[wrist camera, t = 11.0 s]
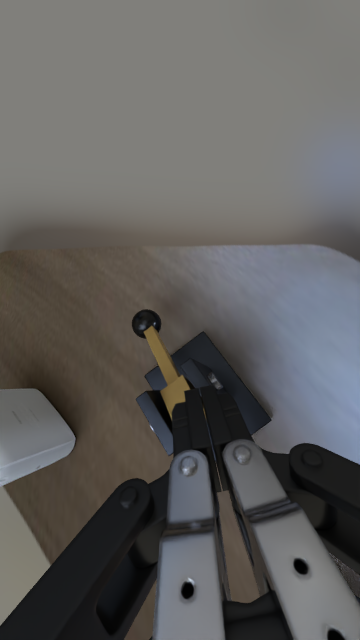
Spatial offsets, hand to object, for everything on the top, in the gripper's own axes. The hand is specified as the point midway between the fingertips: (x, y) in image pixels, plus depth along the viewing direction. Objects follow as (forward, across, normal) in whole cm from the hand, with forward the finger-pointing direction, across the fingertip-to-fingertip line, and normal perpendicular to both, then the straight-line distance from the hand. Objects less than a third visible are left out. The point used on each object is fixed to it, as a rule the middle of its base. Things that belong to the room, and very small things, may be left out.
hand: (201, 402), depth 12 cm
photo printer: (+18, +20, +12) cm, 29 cm away
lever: (+11, +2, +3) cm, 12 cm away
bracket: (+14, -1, +10) cm, 18 cm away
